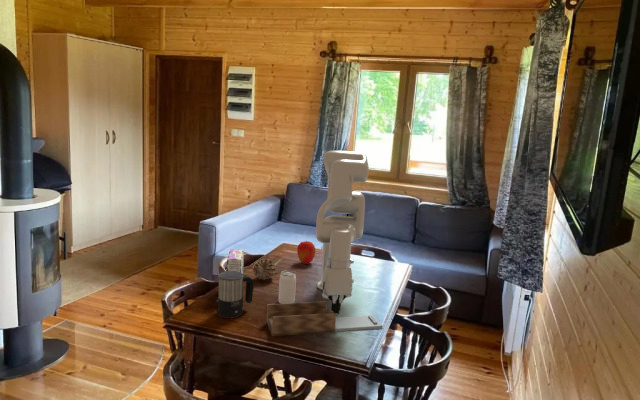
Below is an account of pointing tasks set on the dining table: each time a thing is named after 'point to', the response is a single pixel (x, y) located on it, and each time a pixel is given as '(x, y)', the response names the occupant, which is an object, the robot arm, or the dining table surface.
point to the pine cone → (265, 268)
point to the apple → (306, 252)
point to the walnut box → (300, 318)
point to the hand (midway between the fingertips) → (335, 312)
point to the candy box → (235, 260)
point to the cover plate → (357, 323)
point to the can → (287, 287)
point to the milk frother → (233, 293)
